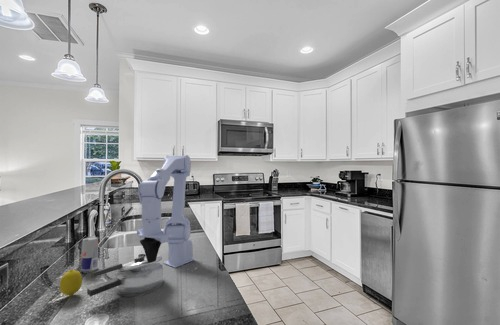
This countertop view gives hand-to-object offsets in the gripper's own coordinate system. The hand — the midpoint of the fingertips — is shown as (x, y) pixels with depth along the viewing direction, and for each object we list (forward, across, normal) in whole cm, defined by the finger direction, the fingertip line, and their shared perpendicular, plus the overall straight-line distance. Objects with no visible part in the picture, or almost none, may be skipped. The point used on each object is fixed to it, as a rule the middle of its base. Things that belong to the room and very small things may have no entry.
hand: (151, 261), depth 76 cm
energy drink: (+10, -35, -5) cm, 37 cm away
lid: (+3, -7, -4) cm, 8 cm away
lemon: (+10, -18, -16) cm, 26 cm away
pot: (+9, -7, -4) cm, 12 cm away
